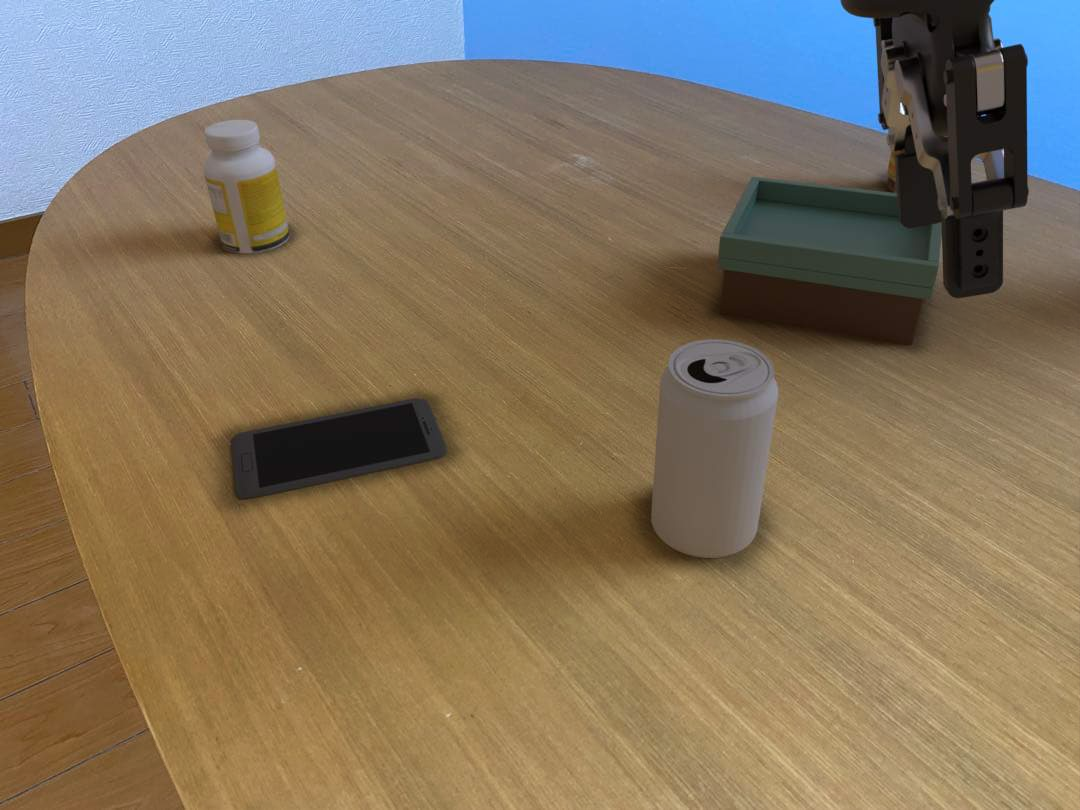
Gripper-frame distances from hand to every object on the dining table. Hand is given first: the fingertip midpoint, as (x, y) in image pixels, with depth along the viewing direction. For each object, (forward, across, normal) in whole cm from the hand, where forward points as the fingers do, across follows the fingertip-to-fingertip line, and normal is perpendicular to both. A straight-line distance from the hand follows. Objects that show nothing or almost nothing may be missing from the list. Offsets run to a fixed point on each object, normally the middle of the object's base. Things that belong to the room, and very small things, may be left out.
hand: (945, 254), depth 44 cm
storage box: (+17, +32, +2) cm, 36 cm away
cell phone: (+11, +9, +37) cm, 40 cm away
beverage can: (+17, +3, +14) cm, 22 cm away
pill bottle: (+5, +41, +53) cm, 67 cm away
